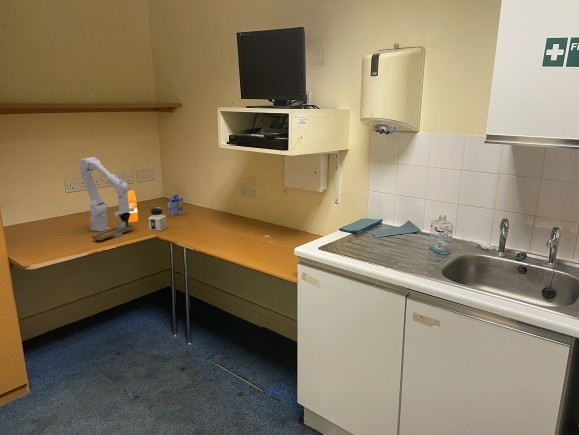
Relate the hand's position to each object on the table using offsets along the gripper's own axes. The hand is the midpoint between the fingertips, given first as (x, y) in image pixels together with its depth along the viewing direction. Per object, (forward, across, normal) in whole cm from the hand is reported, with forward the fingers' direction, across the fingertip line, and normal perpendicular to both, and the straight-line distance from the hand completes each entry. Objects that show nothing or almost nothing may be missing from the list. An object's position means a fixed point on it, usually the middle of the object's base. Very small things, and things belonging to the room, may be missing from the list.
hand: (125, 225), depth 269 cm
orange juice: (+4, +20, +16) cm, 26 cm away
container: (+4, +13, -13) cm, 19 cm away
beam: (+4, -10, 0) cm, 11 cm away
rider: (+1, -3, 0) cm, 4 cm away
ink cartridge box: (+4, +45, -2) cm, 45 cm away
